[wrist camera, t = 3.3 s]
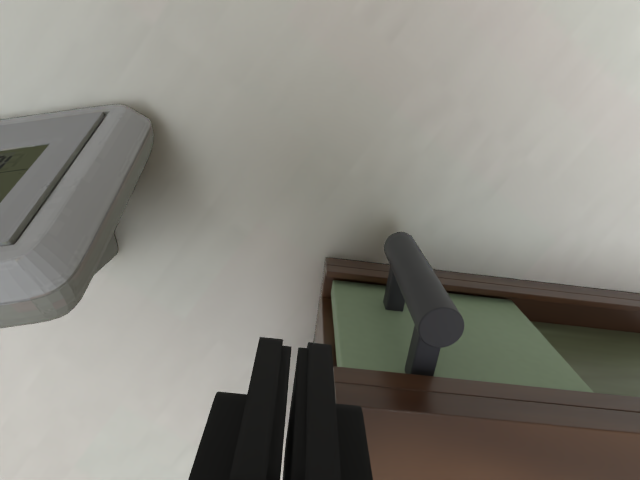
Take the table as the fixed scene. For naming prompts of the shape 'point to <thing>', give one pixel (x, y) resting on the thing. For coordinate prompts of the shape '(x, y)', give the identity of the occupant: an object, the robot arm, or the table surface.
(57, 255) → the digital clock
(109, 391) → the table surface
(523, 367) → the sliding door
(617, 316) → the cabinet
